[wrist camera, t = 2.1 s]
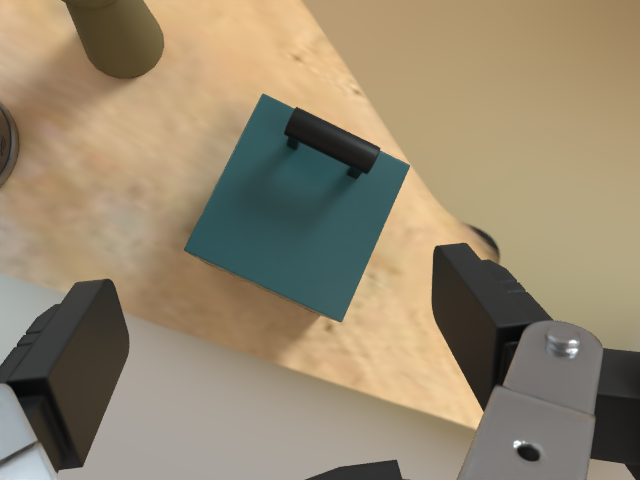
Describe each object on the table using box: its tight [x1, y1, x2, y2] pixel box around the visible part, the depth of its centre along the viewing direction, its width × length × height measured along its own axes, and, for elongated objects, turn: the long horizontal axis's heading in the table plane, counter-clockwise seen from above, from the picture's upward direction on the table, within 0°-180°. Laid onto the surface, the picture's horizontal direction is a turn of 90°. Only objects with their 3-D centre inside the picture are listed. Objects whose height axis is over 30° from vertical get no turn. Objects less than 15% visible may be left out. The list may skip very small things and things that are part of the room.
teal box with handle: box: [184, 94, 410, 322], centre depth 27 cm, size 10×10×5 cm
